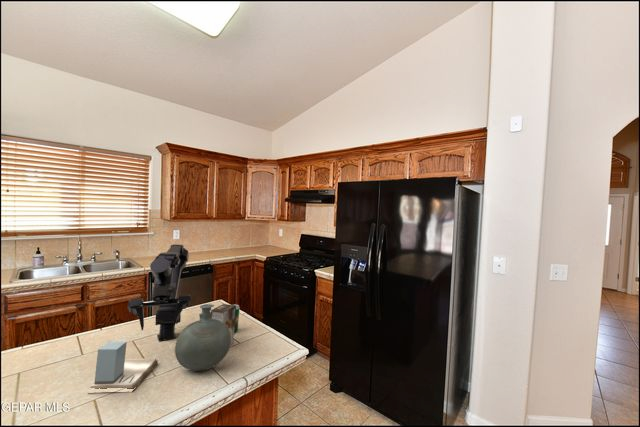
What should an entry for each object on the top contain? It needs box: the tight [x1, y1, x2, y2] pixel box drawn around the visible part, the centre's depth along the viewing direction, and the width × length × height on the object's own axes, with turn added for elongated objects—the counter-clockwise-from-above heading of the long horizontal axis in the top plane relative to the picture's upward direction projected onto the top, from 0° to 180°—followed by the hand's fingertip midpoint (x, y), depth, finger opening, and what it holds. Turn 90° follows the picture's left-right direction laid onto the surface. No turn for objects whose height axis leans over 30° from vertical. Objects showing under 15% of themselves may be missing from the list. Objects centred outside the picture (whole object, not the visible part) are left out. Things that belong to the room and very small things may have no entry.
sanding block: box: [93, 341, 128, 384], centre depth 78 cm, size 5×5×10 cm
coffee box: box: [210, 303, 237, 346], centre depth 106 cm, size 9×6×16 cm
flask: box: [174, 303, 231, 372], centre depth 89 cm, size 12×17×22 cm
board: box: [89, 358, 159, 389], centre depth 82 cm, size 16×12×2 cm
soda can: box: [234, 304, 241, 334], centre depth 121 cm, size 5×5×12 cm
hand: (158, 327), depth 87 cm, fingers open, 9 cm apart
